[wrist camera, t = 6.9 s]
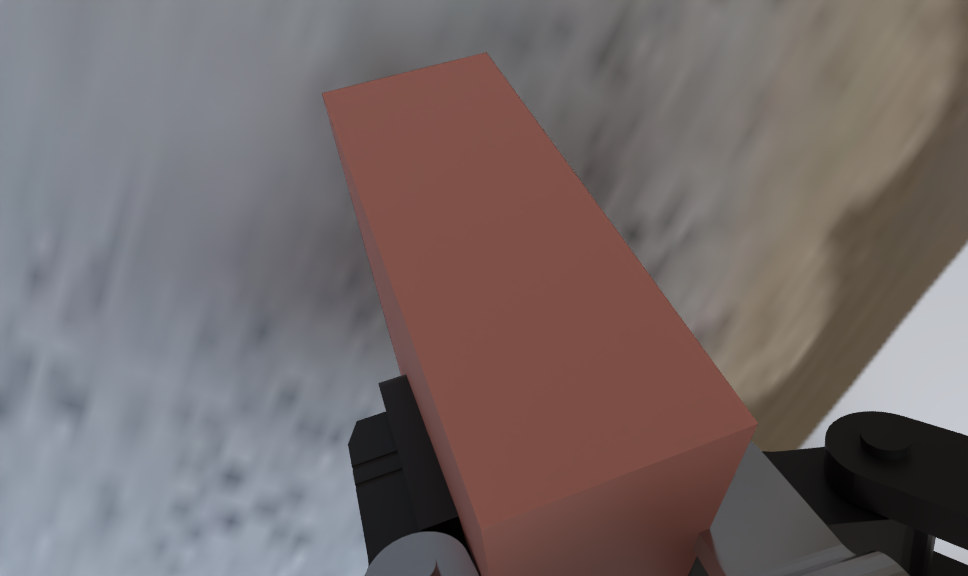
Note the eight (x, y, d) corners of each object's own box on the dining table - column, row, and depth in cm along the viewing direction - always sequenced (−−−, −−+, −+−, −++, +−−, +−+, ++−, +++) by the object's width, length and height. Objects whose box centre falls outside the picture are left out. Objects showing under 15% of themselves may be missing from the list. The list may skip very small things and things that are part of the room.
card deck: (321, 93, 9) (480, 529, 5) (486, 52, 10) (759, 423, 5) (415, 427, 16) (517, 732, 12) (510, 394, 16) (640, 678, 12)
